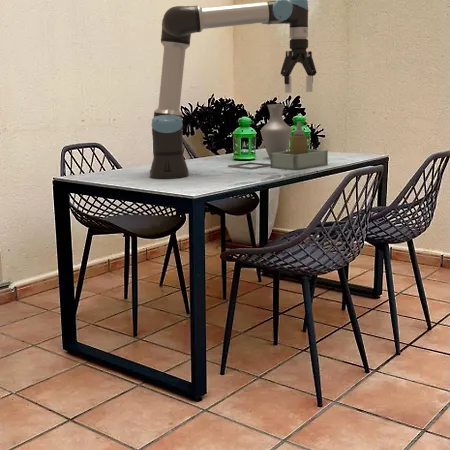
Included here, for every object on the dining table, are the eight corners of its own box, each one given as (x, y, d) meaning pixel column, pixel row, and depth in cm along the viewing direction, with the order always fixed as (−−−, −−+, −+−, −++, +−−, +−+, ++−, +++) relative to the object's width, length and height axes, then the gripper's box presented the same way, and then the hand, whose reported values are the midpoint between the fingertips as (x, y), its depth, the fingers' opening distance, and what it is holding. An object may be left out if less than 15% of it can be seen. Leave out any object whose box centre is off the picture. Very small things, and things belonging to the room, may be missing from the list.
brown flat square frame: (251, 169, 264) (251, 167, 264) (227, 166, 274) (227, 165, 274) (273, 165, 273) (273, 164, 273) (250, 163, 283) (250, 162, 283)
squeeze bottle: (312, 165, 268) (312, 121, 264) (295, 166, 264) (295, 122, 260) (302, 163, 275) (302, 120, 271) (286, 164, 272) (285, 121, 268)
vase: (284, 156, 308) (284, 103, 303) (297, 159, 295) (296, 104, 290) (256, 157, 304) (255, 104, 299) (268, 161, 291) (267, 105, 285)
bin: (295, 170, 258) (295, 155, 256) (270, 167, 267) (270, 153, 266) (327, 164, 272) (327, 150, 271) (302, 162, 282) (302, 148, 280)
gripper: (285, 37, 247) (286, 92, 252) (325, 39, 264) (324, 91, 269) (271, 38, 253) (271, 93, 257) (310, 40, 270) (310, 91, 274)
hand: (298, 92), depth 263 cm, fingers open, 13 cm apart
